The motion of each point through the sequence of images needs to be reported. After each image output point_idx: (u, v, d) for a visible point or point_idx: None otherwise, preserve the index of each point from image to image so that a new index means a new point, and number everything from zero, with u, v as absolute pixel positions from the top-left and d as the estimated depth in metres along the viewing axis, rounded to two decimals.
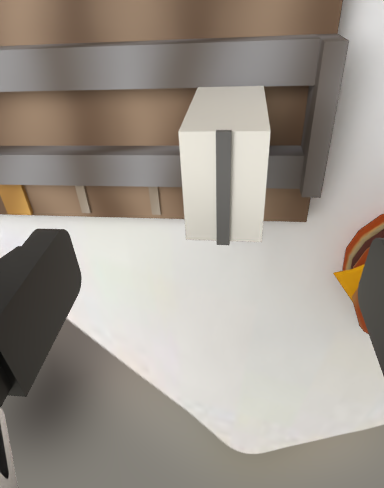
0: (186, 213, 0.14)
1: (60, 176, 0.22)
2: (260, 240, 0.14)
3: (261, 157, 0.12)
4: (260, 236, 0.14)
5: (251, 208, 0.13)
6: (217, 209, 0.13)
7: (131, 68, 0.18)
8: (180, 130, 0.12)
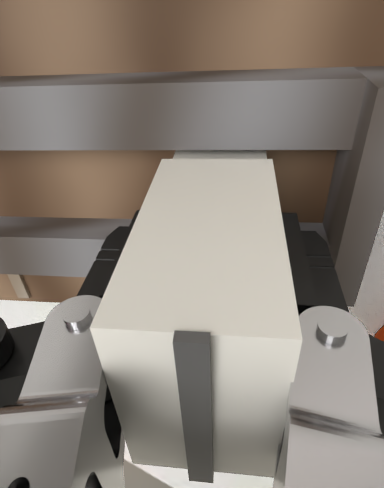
0: (128, 436, 0.07)
1: None
2: (272, 475, 0.07)
3: (279, 377, 0.05)
4: (272, 471, 0.07)
5: (256, 439, 0.07)
6: (187, 444, 0.07)
7: (58, 120, 0.11)
8: (95, 322, 0.05)
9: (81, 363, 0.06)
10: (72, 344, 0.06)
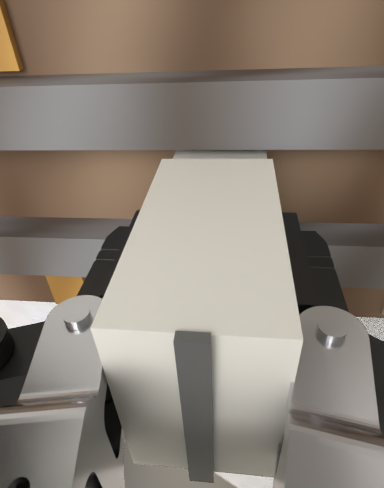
0: (128, 436, 0.07)
1: None
2: (272, 475, 0.07)
3: (280, 377, 0.05)
4: (272, 471, 0.07)
5: (256, 439, 0.07)
6: (187, 444, 0.07)
7: (309, 117, 0.11)
8: (96, 322, 0.05)
9: (81, 363, 0.06)
10: (72, 344, 0.06)
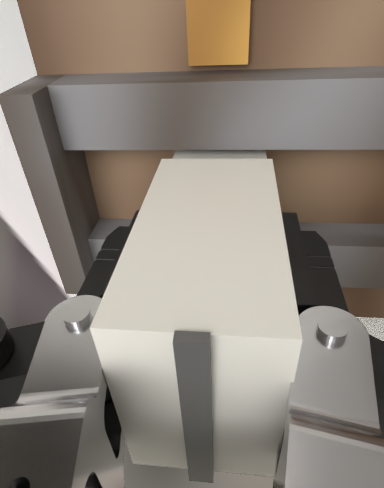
0: (128, 436, 0.07)
1: (338, 275, 0.14)
2: (272, 475, 0.07)
3: (280, 377, 0.05)
4: (272, 471, 0.07)
5: (256, 439, 0.07)
6: (187, 444, 0.07)
7: None
8: (95, 322, 0.05)
9: (81, 363, 0.06)
10: (71, 345, 0.06)
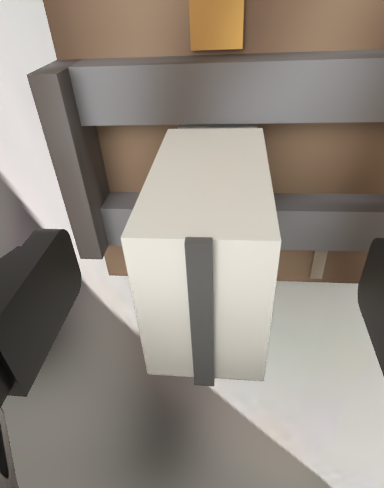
0: (145, 344, 0.09)
1: (324, 239, 0.16)
2: (262, 379, 0.09)
3: (265, 277, 0.07)
4: (262, 374, 0.09)
5: (248, 341, 0.08)
6: (193, 345, 0.08)
7: None
8: (124, 234, 0.07)
9: None
10: None
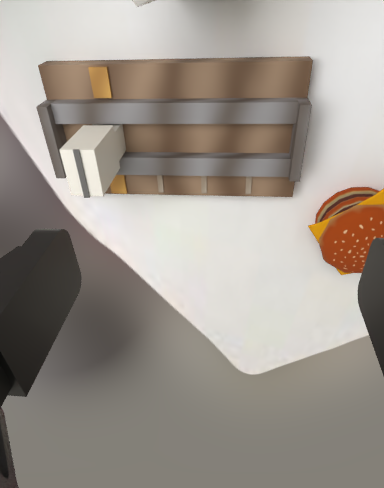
0: (69, 183, 0.32)
1: (152, 170, 0.39)
2: (102, 195, 0.33)
3: (93, 159, 0.31)
4: (102, 193, 0.33)
5: (95, 180, 0.32)
6: (80, 181, 0.32)
7: (201, 113, 0.35)
8: (60, 149, 0.31)
9: None
10: None
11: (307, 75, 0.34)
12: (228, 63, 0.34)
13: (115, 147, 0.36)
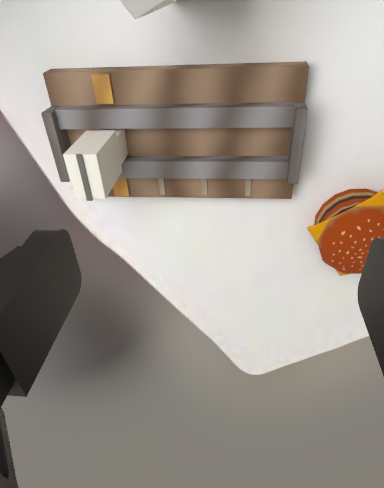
0: (72, 187, 0.34)
1: (154, 173, 0.40)
2: (104, 198, 0.34)
3: (95, 164, 0.32)
4: (104, 196, 0.34)
5: (97, 184, 0.33)
6: (83, 185, 0.33)
7: (201, 118, 0.36)
8: None
9: None
10: None
11: (303, 80, 0.34)
12: (226, 69, 0.35)
13: (117, 151, 0.37)
